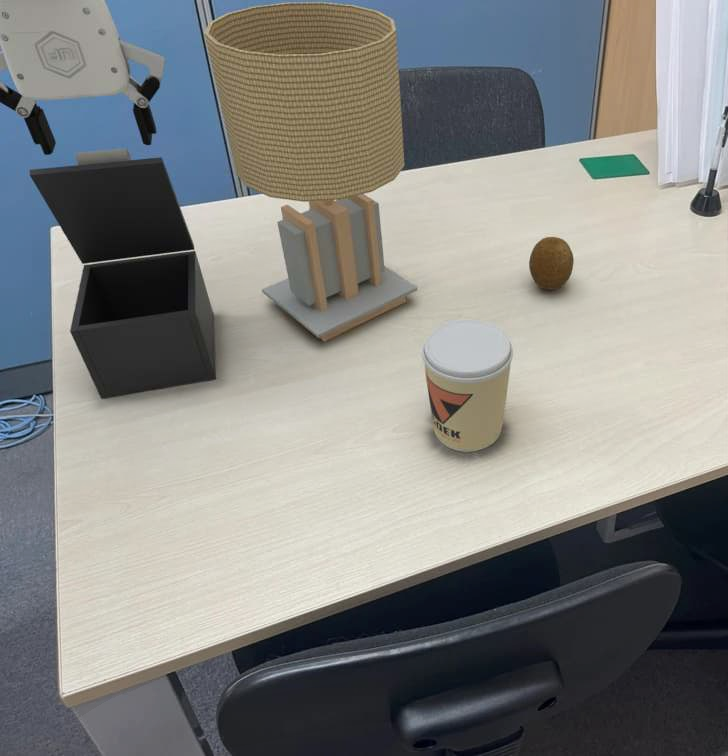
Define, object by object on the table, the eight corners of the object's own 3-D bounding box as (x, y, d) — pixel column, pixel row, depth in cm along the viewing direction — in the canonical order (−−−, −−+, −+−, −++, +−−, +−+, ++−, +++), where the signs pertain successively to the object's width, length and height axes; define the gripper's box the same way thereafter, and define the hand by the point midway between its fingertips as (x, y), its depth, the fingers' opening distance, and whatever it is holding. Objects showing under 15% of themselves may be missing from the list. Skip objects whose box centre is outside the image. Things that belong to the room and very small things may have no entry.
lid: (162, 162, 75) (159, 130, 77) (29, 175, 72) (30, 141, 74) (194, 249, 88) (191, 220, 90) (82, 264, 85) (81, 233, 87)
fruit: (536, 271, 105) (540, 223, 100) (576, 281, 103) (582, 233, 98) (521, 293, 101) (524, 243, 96) (562, 304, 99) (567, 254, 94)
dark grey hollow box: (216, 379, 85) (195, 312, 79) (101, 399, 82) (69, 331, 75) (213, 314, 95) (195, 250, 88) (110, 329, 91) (83, 264, 85)
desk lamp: (358, 250, 108) (328, -7, 85) (442, 306, 98) (434, 31, 75) (241, 299, 97) (170, 21, 74) (321, 367, 87) (268, 70, 64)
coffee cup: (410, 420, 81) (404, 337, 73) (477, 388, 85) (478, 306, 77) (457, 470, 75) (455, 386, 67) (525, 434, 80) (532, 350, 72)
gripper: (-85, -21, 60) (3, 168, 72) (135, -30, 65) (185, 151, 76) (-63, -41, 66) (16, 139, 77) (139, -48, 70) (185, 123, 81)
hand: (100, 144), depth 76 cm, fingers open, 9 cm apart
